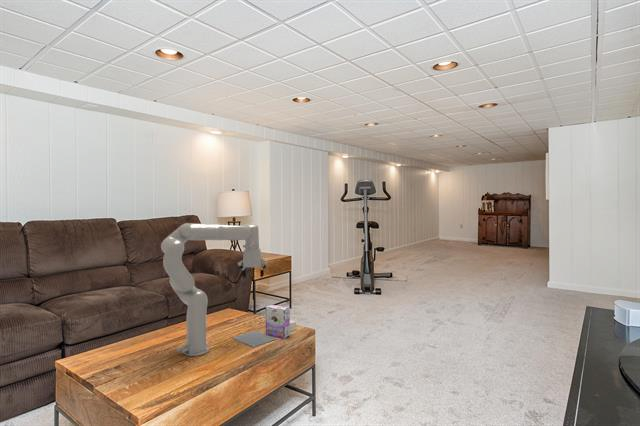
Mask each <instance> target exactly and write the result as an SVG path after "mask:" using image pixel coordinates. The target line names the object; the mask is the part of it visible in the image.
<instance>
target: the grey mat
mask: <svg viewBox="0 0 640 426" xmlns="http://www.w3.org/2000/svg"><path fill="white" fill-rule="evenodd" d="M231 339H232V340H235V341H238V342H240V343H242V344H244V345H246V346H249V347H251V348H256V347H260V346H263V345H265V344H267V343H270V342H274V341H277V340H278V339H277V337H275V336H271V335H267V334H266V333H264V332H263V333H262V332H260V331H257V330H251V331H249V332H246V333H242V334H239V335H235V336H232V337H231Z"/></svg>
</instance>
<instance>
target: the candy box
mask: <svg viewBox="0 0 640 426" xmlns="http://www.w3.org/2000/svg"><path fill="white" fill-rule="evenodd" d="M290 320H291V307H287V306H283V305H282V306H281V305H276V304H270V305H267V306H265V334H266V335H268V336H271V337H275V338H281V339H286V338H288V337H290V336H291V332H290Z"/></svg>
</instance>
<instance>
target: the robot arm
mask: <svg viewBox="0 0 640 426" xmlns="http://www.w3.org/2000/svg"><path fill="white" fill-rule="evenodd" d="M188 241H244V242H245V243H244V244H243V245H242V248H244V249H243V254H242V255H243V258H242V260H240V261H239V262H237V265H238V267H239V269H241V271H242V276H243V278H244V279H245V278H247V269H246V268H260V271H259V273H260V274H259V276H260V278H263V277H264V275H265V273H264V272H265V271H264V269H265V268H267V267H268V265H269V261H267V260H265V259H263V258H262V257H263V256H262V251H261V248H260V236H259V226H258V225H257V224H248V225H226V224H225V225H224V224H221V223H220V224H219V223H218V224H216V223H191V222H190V223H189V222H186V223H183V224H181V225H180V226H178V227H177V228H176V229H175V230H174V231H173V232H171V233H170V234H169V235H167V236H166V238H164V239H163V241H162V242H161V244H160V249H161V252H163V253H164V254H163V260H162V264H163V265H162V266H163V268H164V271H165V272H166V274H167V276H168V277H169V284H170V287H171V288H172V290H173V291H174V292H175V294H176V295H177V297H178V298H179V299H180V301H181V302H183V304H185V305H186V306H187V311H186V319H185V320H186V342H185V343H184V345H183V346H182V347H178V348H176V352H177V353H180V352H182V353H183V355H185V356H187V357H198V356H202V355H205V354H207V353H208V352H209V351H210V346H209V345H207V309H208V302H209V301H208V300H209V299H208V295H207V294H206V292H204V291H203V290H201V289H199V288H197V287H196V284H195V279H194V277H193V276H192V274H191V272H189V270H188V269H187V267H186V266H185V265H184V263H183V259H182V258H183V254H184V251H185V244H186V243H187V242H188ZM263 264H264V265H263Z"/></svg>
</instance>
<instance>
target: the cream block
mask: <svg viewBox="0 0 640 426" xmlns="http://www.w3.org/2000/svg"><path fill="white" fill-rule="evenodd" d="M293 330H294V331H296V330H297V321H296V320H295V321H294V320H292V319H290V331H291V332H294V331H293Z"/></svg>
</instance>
